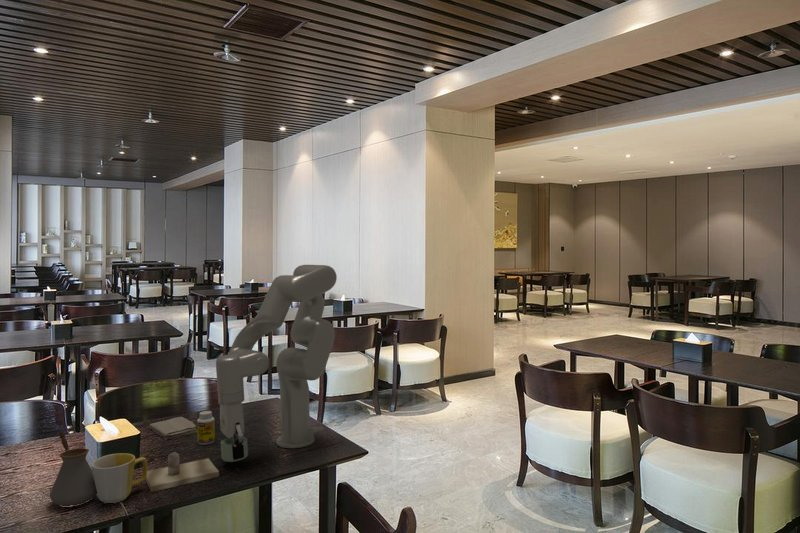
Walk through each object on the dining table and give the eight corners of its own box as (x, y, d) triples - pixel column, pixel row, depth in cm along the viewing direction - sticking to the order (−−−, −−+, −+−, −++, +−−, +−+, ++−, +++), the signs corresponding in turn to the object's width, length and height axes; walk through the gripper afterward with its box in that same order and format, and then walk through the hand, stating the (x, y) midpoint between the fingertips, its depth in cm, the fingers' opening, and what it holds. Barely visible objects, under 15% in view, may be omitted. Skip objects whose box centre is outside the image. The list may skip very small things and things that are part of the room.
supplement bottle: (196, 445, 188) (195, 415, 187) (199, 440, 193) (198, 410, 193) (213, 444, 189) (212, 414, 188) (216, 439, 194) (215, 409, 194)
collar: (243, 449, 176) (242, 434, 176) (250, 457, 170) (249, 441, 170) (219, 455, 172) (218, 439, 172) (226, 463, 166) (225, 447, 166)
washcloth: (166, 442, 193) (166, 433, 193) (147, 429, 206) (147, 421, 206) (200, 433, 201) (199, 425, 201) (180, 422, 215) (179, 414, 214)
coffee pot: (106, 501, 148) (103, 444, 147) (55, 515, 140) (52, 456, 140) (85, 476, 164) (83, 425, 163) (38, 488, 156) (36, 435, 156)
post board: (208, 463, 173) (207, 438, 172) (218, 476, 163) (218, 450, 162) (144, 476, 163) (143, 451, 163) (151, 492, 153) (150, 464, 153)
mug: (97, 512, 142) (96, 471, 141) (88, 498, 150) (87, 459, 149) (154, 496, 151) (153, 457, 150) (143, 483, 158) (142, 446, 158)
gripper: (211, 392, 175) (214, 448, 177) (226, 406, 161) (230, 467, 162) (235, 387, 179) (238, 442, 181) (252, 401, 165) (256, 460, 166)
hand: (234, 453), depth 171 cm, fingers closed on collar, 7 cm apart
